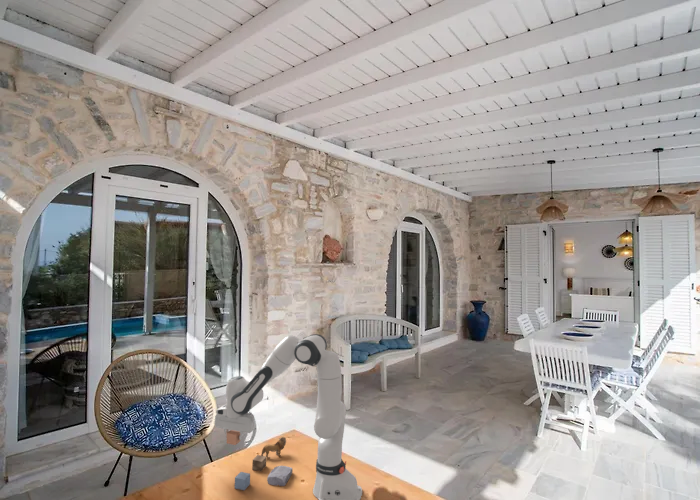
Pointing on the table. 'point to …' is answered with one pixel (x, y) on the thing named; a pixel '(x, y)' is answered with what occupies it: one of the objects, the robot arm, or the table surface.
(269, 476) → the stone block
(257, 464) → the walnut cube
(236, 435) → the terracotta cube
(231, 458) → the table surface
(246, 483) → the slate-blue cube
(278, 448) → the lion figurine
